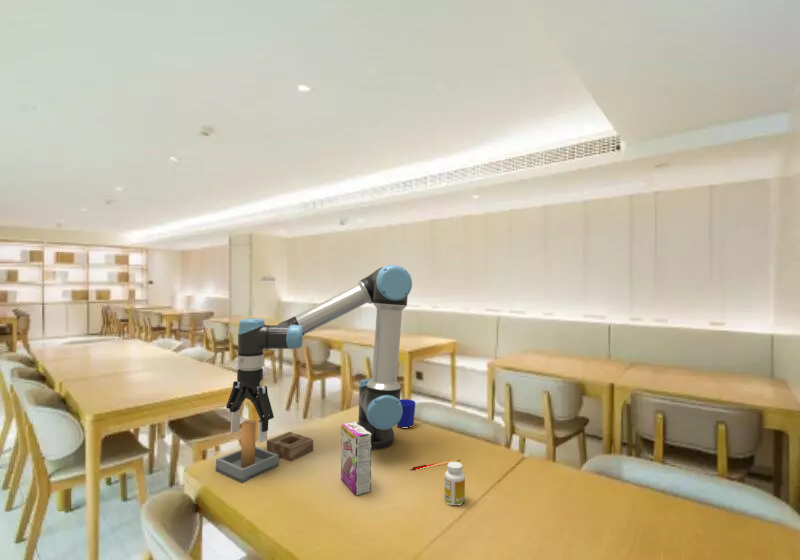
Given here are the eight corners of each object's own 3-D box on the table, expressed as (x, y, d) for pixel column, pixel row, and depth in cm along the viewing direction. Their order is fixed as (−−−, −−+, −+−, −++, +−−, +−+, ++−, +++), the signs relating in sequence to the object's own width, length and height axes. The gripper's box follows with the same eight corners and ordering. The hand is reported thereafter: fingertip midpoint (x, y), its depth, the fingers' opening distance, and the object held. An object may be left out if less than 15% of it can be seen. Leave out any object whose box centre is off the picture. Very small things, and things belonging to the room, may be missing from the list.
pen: (408, 471, 121) (408, 467, 121) (459, 460, 129) (459, 457, 130) (410, 472, 120) (410, 468, 120) (461, 461, 129) (461, 458, 129)
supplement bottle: (466, 498, 106) (466, 462, 106) (462, 508, 100) (463, 470, 101) (446, 494, 107) (447, 458, 108) (442, 504, 102) (442, 467, 102)
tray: (278, 466, 122) (278, 454, 122) (241, 482, 111) (242, 470, 111) (252, 455, 129) (252, 445, 129) (215, 470, 118) (216, 459, 119)
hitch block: (313, 450, 134) (313, 439, 134) (290, 461, 126) (290, 448, 126) (289, 442, 141) (289, 431, 141) (266, 452, 132) (266, 440, 132)
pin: (257, 464, 121) (258, 422, 122) (246, 469, 118) (247, 425, 118) (249, 461, 123) (250, 419, 124) (238, 465, 120) (239, 423, 120)
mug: (416, 420, 168) (416, 397, 168) (414, 430, 156) (414, 405, 156) (397, 419, 168) (397, 396, 169) (394, 429, 156) (394, 404, 157)
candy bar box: (339, 479, 115) (340, 423, 115) (354, 475, 117) (356, 420, 118) (355, 497, 105) (356, 436, 105) (371, 492, 108) (372, 432, 108)
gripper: (215, 365, 125) (213, 431, 124) (266, 375, 111) (264, 450, 111) (236, 361, 131) (235, 425, 131) (286, 371, 117) (285, 442, 117)
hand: (248, 436), depth 121 cm, fingers open, 13 cm apart
